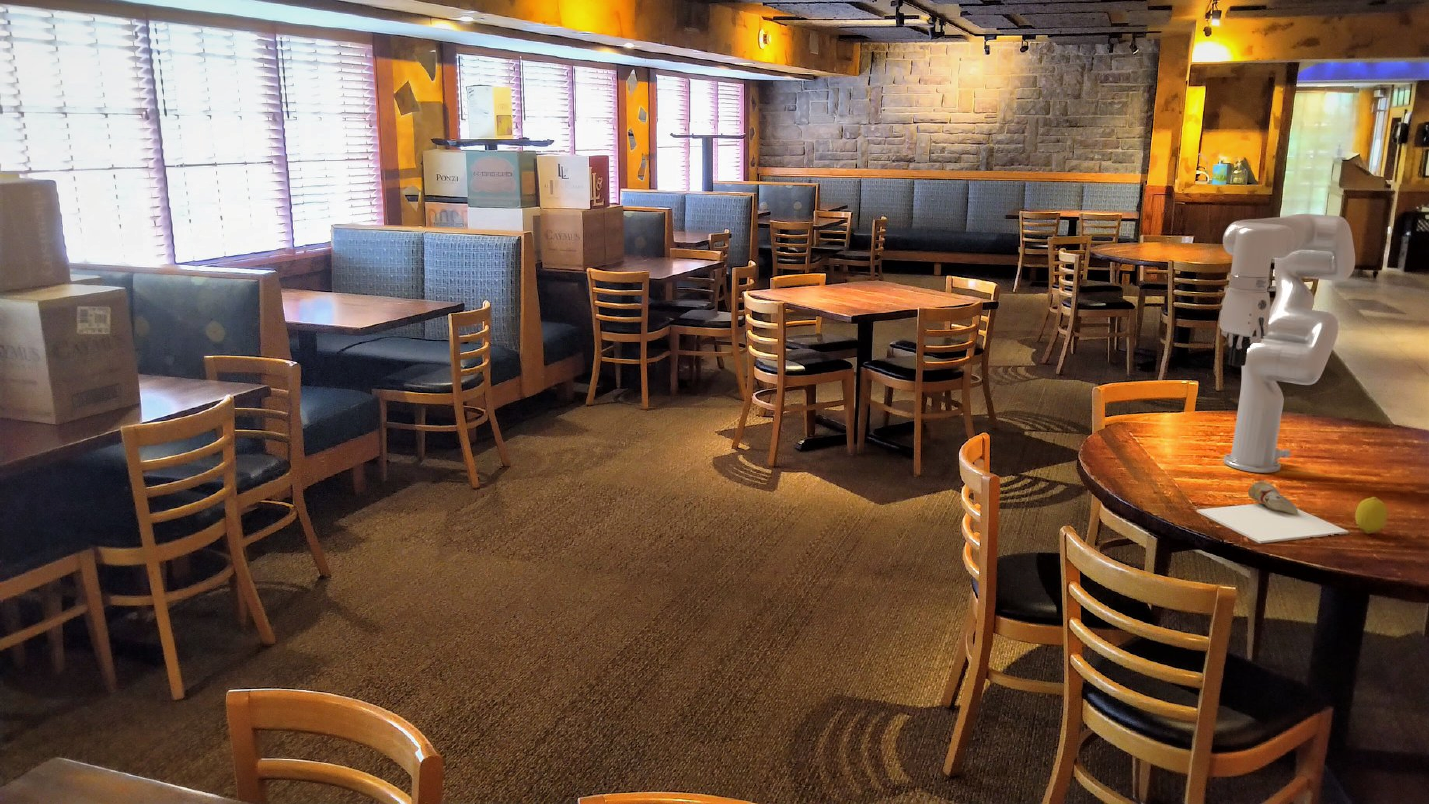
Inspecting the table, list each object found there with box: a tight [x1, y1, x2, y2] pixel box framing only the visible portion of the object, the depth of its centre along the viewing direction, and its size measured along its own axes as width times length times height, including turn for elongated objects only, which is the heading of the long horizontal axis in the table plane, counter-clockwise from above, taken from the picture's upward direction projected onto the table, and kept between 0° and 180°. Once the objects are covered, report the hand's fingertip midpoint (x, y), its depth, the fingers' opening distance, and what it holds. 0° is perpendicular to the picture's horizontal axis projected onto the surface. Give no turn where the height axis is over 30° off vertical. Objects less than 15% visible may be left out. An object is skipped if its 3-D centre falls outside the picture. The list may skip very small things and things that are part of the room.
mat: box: [1196, 502, 1349, 544], centre depth 217 cm, size 22×18×1 cm
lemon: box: [1354, 496, 1388, 535], centre depth 211 cm, size 6×6×8 cm
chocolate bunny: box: [1247, 480, 1298, 514], centre depth 224 cm, size 6×8×10 cm
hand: (1236, 365), depth 231 cm, fingers closed
